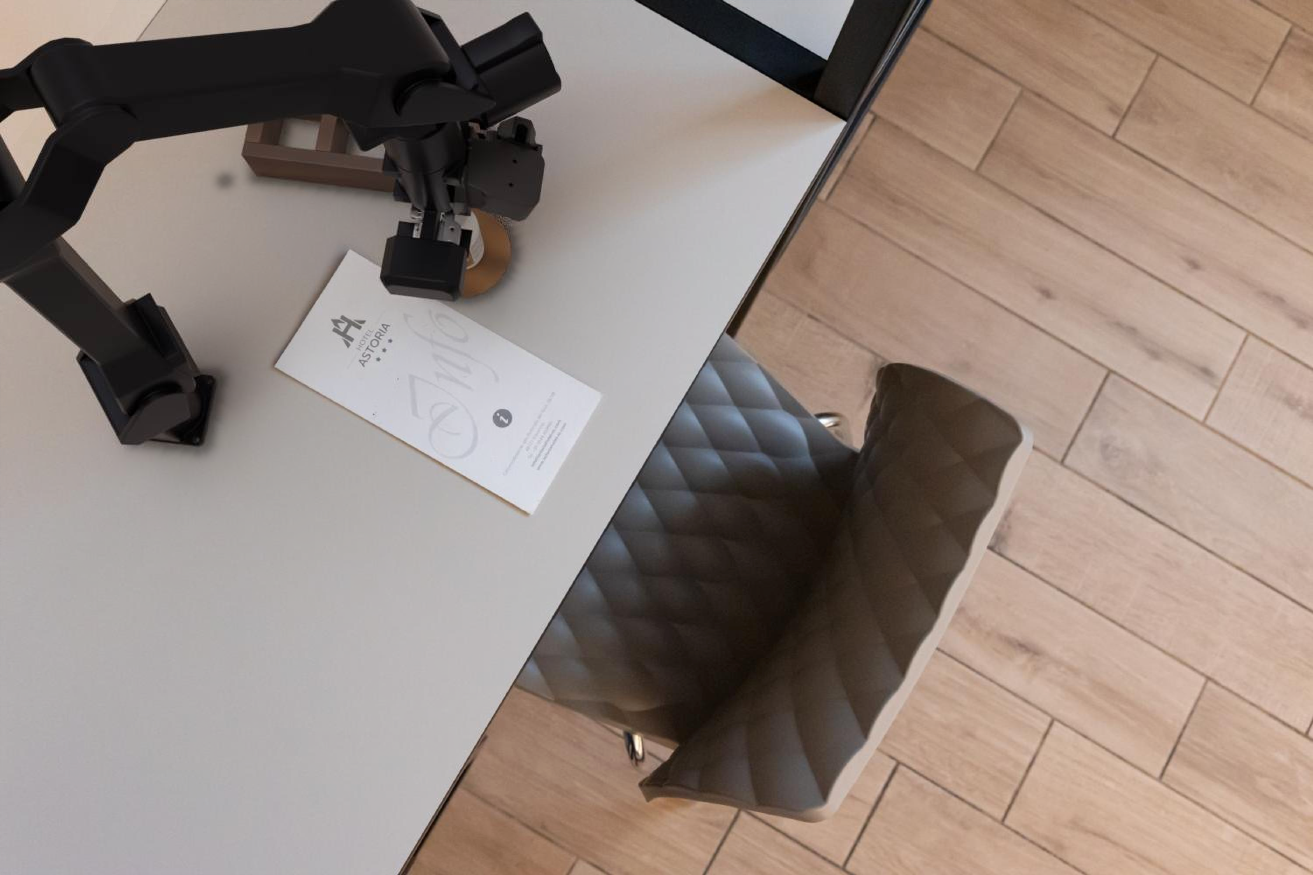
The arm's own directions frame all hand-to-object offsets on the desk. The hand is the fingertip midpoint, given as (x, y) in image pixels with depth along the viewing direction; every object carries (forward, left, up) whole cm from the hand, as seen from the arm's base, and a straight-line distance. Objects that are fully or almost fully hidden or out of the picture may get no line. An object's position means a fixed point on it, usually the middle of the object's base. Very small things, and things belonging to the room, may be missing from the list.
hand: (453, 229), depth 87 cm
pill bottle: (0, 0, -5) cm, 5 cm away
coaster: (0, 0, -5) cm, 5 cm away
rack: (+9, +10, -5) cm, 14 cm away
